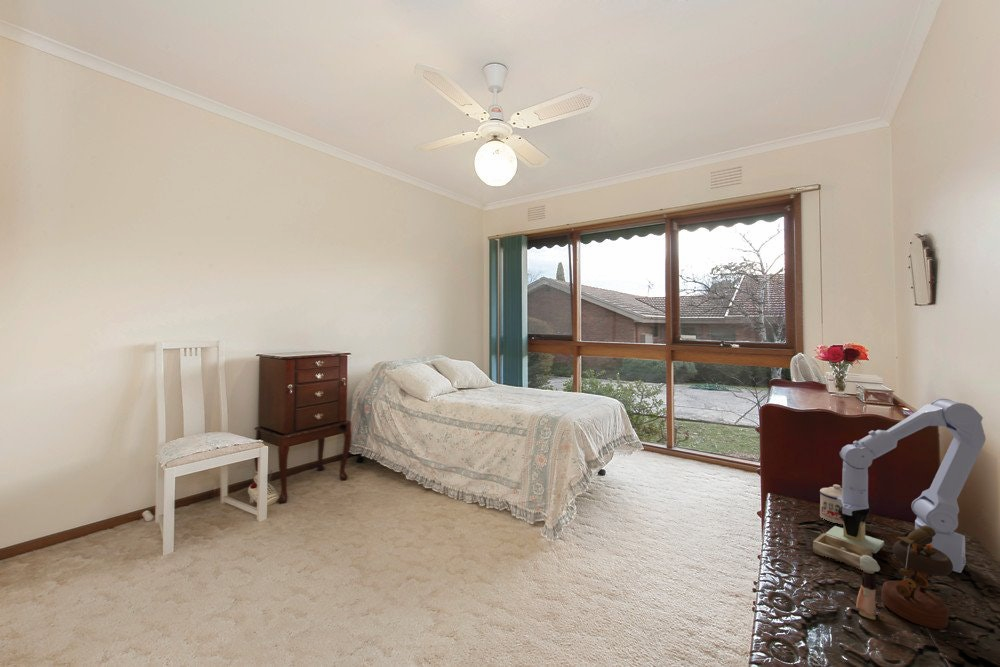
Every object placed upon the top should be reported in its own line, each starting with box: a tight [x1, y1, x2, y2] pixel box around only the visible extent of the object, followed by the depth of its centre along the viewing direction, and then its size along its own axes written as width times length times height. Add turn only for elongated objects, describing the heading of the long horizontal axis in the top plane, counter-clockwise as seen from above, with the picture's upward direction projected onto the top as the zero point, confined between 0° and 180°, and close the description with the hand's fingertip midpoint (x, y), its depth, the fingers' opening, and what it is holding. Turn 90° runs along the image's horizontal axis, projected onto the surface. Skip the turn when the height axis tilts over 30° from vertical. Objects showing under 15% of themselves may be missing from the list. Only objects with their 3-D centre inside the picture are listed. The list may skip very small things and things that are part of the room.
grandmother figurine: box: [855, 555, 881, 620], centre depth 91 cm, size 8×4×13 cm, turn 141°
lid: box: [824, 521, 885, 554], centre depth 121 cm, size 11×8×6 cm
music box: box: [880, 526, 953, 630], centre depth 92 cm, size 15×11×20 cm
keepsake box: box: [812, 532, 873, 571], centre depth 114 cm, size 11×8×3 cm
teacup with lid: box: [819, 484, 844, 524], centre depth 136 cm, size 12×9×12 cm
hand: (854, 533), depth 121 cm, fingers open, 4 cm apart
